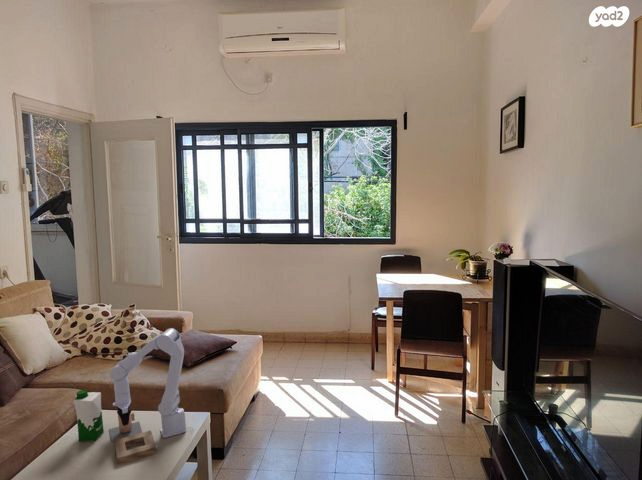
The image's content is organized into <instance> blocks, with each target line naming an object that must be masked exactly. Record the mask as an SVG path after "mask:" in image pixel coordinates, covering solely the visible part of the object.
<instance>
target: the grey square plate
mask: <svg viewBox="0 0 642 480" xmlns="http://www.w3.org/2000/svg"><path fill="white" fill-rule="evenodd" d="M139 433H143V430H142V426H141V424H140V421H135V422H132V430H130V431H128V432H125V433H121V432H119V426H117V427H112V428H109V435H110V436H109V437H110V441H111V444H115V442H114V440H118V439H121V438H125V437H129V436H132V435H136V434H139Z"/></svg>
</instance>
